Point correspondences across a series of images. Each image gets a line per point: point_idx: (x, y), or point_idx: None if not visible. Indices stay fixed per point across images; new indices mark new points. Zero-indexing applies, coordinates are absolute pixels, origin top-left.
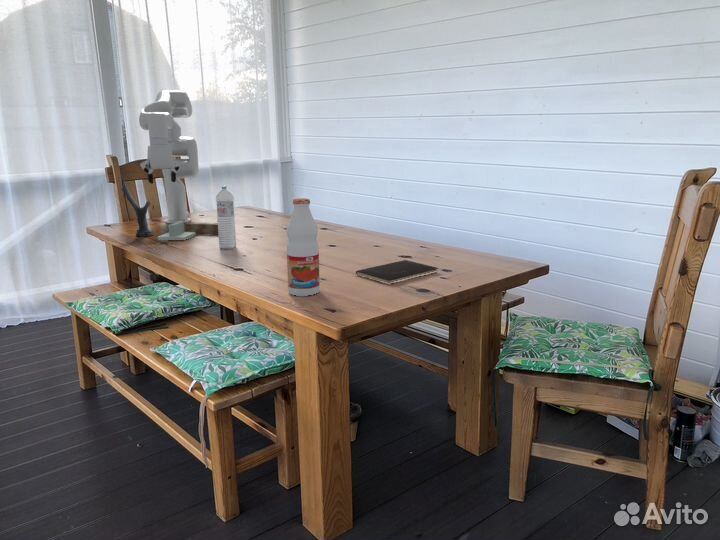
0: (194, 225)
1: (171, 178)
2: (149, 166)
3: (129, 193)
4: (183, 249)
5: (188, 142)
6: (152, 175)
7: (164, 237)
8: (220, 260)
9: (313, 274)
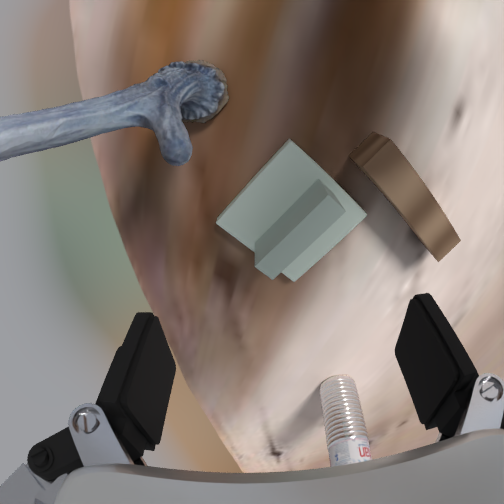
0: (386, 195)
1: (422, 330)
2: (79, 494)
3: (24, 151)
4: (251, 360)
5: None
6: (158, 436)
7: (237, 238)
8: (277, 429)
9: None
